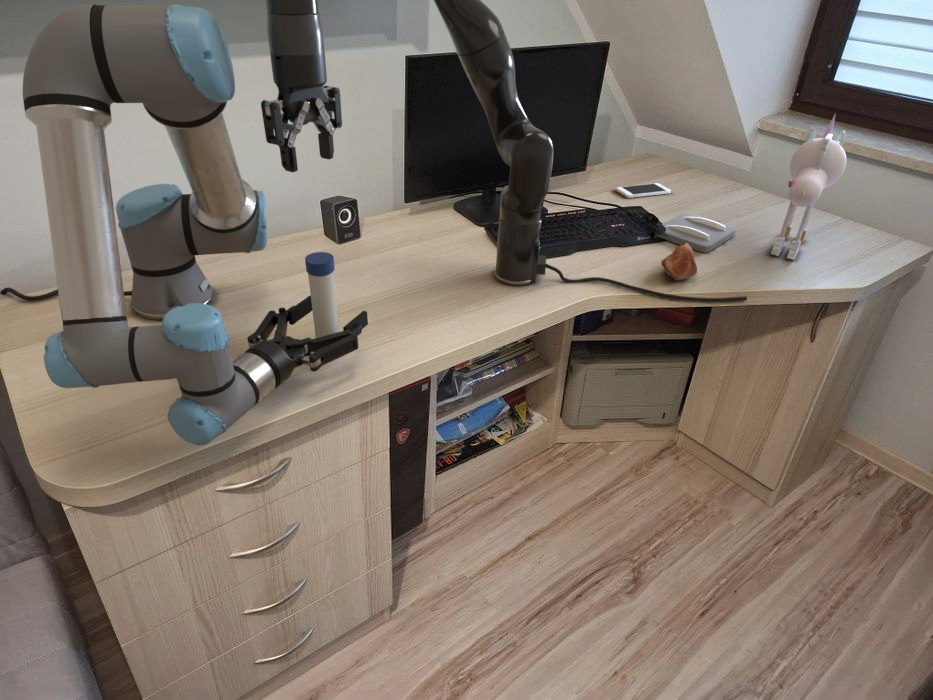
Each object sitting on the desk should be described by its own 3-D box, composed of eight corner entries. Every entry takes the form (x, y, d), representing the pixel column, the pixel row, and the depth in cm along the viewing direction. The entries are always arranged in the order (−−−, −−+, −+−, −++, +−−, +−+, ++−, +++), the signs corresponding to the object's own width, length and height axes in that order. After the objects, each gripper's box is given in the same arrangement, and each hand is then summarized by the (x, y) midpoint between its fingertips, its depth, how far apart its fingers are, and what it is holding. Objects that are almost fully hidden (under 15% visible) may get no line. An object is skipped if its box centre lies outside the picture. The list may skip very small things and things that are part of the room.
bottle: (332, 358, 115) (323, 267, 105) (312, 352, 117) (301, 262, 107) (345, 346, 119) (337, 257, 109) (325, 341, 120) (316, 253, 110)
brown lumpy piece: (670, 275, 139) (676, 230, 139) (641, 277, 146) (647, 234, 147) (708, 285, 146) (713, 242, 146) (678, 286, 153) (683, 245, 153)
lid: (324, 278, 106) (323, 266, 105) (300, 272, 108) (299, 260, 106) (340, 267, 110) (339, 255, 108) (316, 261, 111) (315, 249, 110)
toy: (826, 222, 178) (867, 110, 161) (806, 269, 152) (852, 142, 135) (779, 212, 183) (814, 103, 167) (751, 256, 157) (789, 132, 141)
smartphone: (614, 190, 195) (615, 187, 194) (657, 185, 199) (658, 182, 199) (627, 198, 189) (628, 195, 189) (671, 193, 194) (671, 190, 193)
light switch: (708, 241, 156) (653, 223, 165) (705, 253, 158) (650, 234, 167) (740, 223, 167) (687, 206, 176) (737, 234, 169) (684, 217, 178)
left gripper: (205, 370, 106) (288, 312, 123) (322, 411, 99) (394, 343, 115) (196, 332, 102) (284, 277, 119) (318, 372, 94) (393, 307, 111)
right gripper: (312, 39, 96) (323, 149, 105) (238, 51, 86) (256, 171, 95) (351, 45, 93) (358, 158, 102) (278, 58, 83) (293, 181, 92)
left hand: (338, 309), depth 117 cm, fingers open, 11 cm apart
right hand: (309, 164), depth 99 cm, fingers open, 7 cm apart
